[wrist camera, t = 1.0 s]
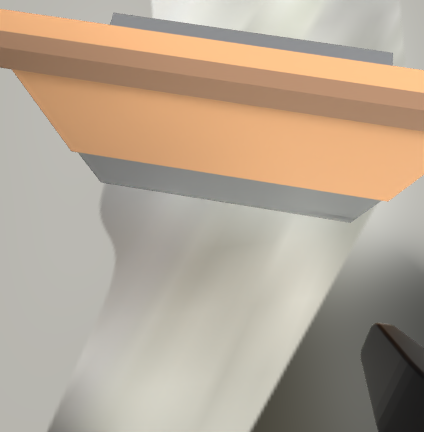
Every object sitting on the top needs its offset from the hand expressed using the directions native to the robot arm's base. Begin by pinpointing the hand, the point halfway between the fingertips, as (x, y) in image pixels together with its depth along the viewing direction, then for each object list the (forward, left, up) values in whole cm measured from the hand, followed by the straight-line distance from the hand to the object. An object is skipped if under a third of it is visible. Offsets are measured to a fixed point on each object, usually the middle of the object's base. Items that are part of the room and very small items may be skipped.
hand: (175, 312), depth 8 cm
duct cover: (+8, 0, -5) cm, 9 cm away
